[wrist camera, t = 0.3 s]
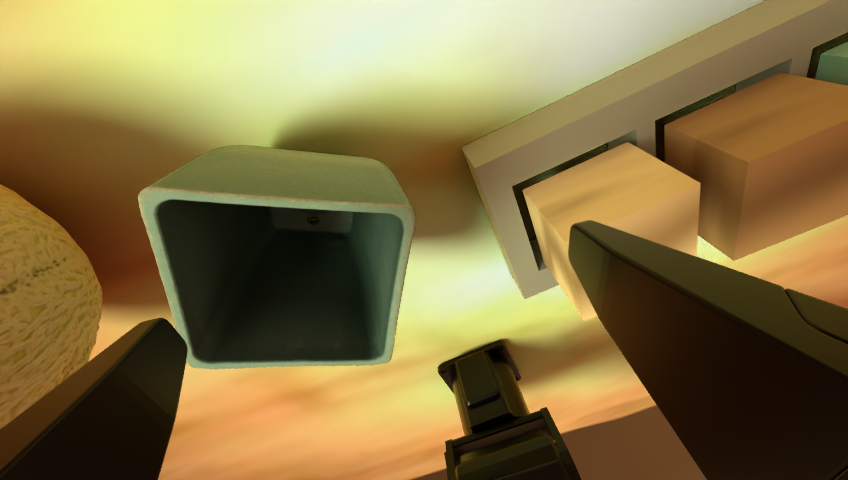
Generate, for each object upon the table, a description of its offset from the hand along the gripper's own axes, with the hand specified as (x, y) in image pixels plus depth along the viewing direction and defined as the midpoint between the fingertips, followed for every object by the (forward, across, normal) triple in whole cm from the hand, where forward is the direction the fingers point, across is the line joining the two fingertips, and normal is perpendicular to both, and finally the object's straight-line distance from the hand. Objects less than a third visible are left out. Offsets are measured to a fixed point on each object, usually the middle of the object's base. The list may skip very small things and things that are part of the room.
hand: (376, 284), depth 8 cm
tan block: (+11, -19, +5) cm, 22 cm away
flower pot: (+14, +4, +4) cm, 15 cm away
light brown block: (+11, -11, +7) cm, 17 cm away
